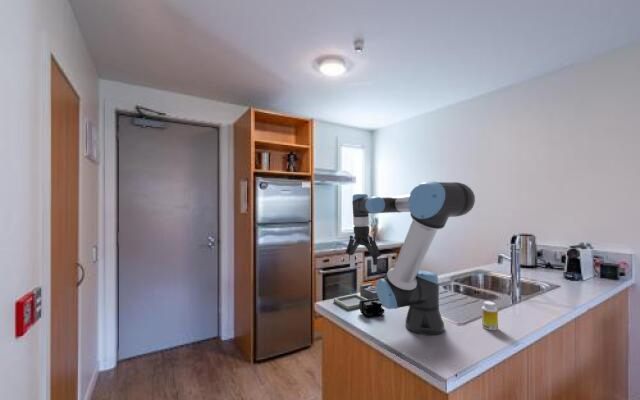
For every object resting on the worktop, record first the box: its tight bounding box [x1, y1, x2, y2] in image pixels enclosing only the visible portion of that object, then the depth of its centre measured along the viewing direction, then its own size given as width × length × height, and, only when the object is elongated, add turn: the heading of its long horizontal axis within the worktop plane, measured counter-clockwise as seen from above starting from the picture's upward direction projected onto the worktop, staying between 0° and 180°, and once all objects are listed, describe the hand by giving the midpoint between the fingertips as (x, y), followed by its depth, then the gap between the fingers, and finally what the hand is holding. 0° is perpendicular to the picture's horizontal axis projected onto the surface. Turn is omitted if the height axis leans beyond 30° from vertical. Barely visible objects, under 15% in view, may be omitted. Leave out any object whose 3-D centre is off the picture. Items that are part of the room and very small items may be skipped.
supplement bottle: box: [481, 300, 499, 331], centre depth 117 cm, size 6×6×10 cm
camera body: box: [359, 282, 378, 300], centre depth 156 cm, size 12×7×6 cm, turn 28°
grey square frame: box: [333, 293, 368, 312], centre depth 148 cm, size 14×14×2 cm
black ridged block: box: [358, 298, 385, 319], centre depth 134 cm, size 10×7×7 cm
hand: (363, 269), depth 138 cm, fingers open, 13 cm apart
